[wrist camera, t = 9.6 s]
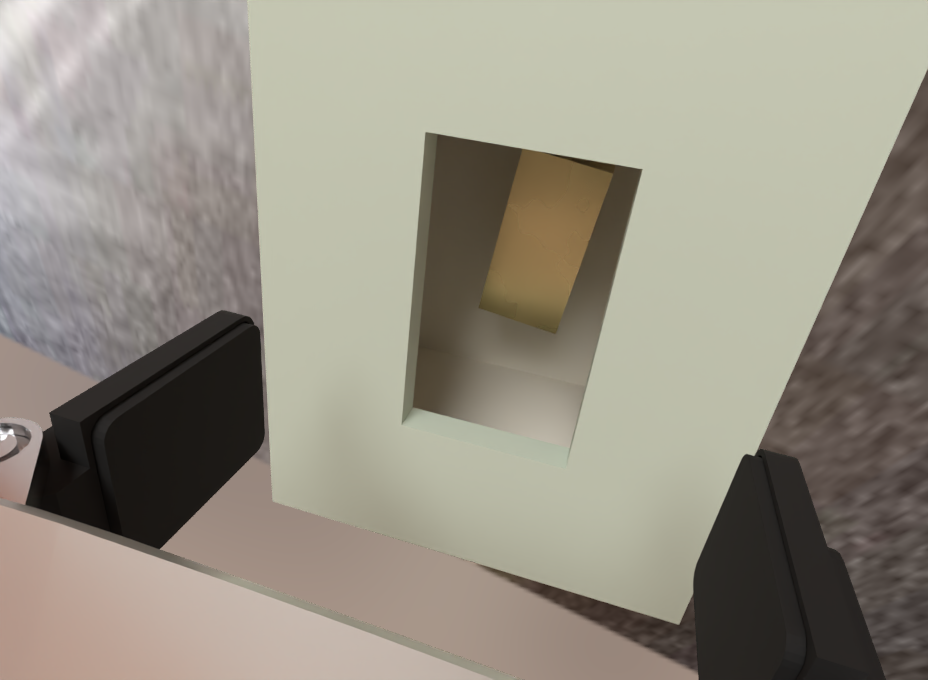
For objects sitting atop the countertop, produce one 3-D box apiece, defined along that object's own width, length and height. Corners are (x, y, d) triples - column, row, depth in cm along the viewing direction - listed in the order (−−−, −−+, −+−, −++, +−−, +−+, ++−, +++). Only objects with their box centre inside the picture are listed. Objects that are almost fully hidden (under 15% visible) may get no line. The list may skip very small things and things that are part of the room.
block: (571, 281, 27) (555, 333, 22) (507, 260, 27) (478, 307, 22) (620, 146, 24) (613, 173, 19) (547, 124, 24) (522, 146, 19)
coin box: (667, 414, 29) (679, 624, 19) (395, 348, 31) (272, 501, 21) (815, -17, 20) (989, -71, 10) (424, -61, 23) (240, -141, 12)
